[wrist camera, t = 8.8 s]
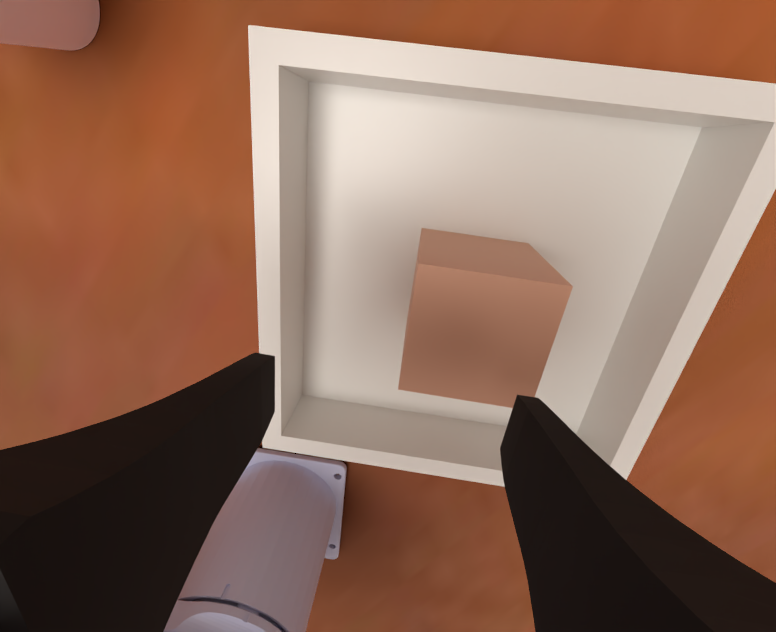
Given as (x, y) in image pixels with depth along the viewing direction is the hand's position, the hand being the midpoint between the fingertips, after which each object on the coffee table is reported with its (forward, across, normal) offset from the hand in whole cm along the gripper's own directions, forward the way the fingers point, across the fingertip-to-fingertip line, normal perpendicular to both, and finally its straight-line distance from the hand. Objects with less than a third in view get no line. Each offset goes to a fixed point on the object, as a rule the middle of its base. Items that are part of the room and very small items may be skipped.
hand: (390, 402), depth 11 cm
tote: (+9, -3, -1) cm, 10 cm away
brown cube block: (+9, -3, -1) cm, 9 cm away
